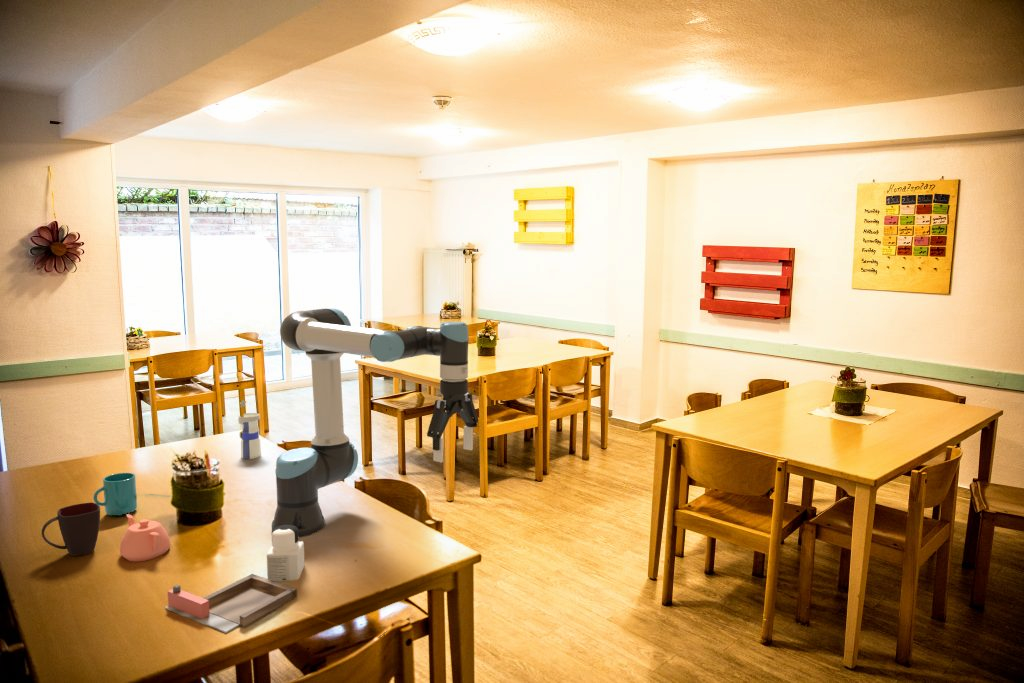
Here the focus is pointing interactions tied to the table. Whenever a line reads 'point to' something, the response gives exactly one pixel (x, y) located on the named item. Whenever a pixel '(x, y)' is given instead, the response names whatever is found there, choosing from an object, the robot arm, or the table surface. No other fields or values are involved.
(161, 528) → the teapot
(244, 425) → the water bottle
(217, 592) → the brown tray
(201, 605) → the bar
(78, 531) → the mug
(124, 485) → the cup
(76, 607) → the table surface
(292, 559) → the container
